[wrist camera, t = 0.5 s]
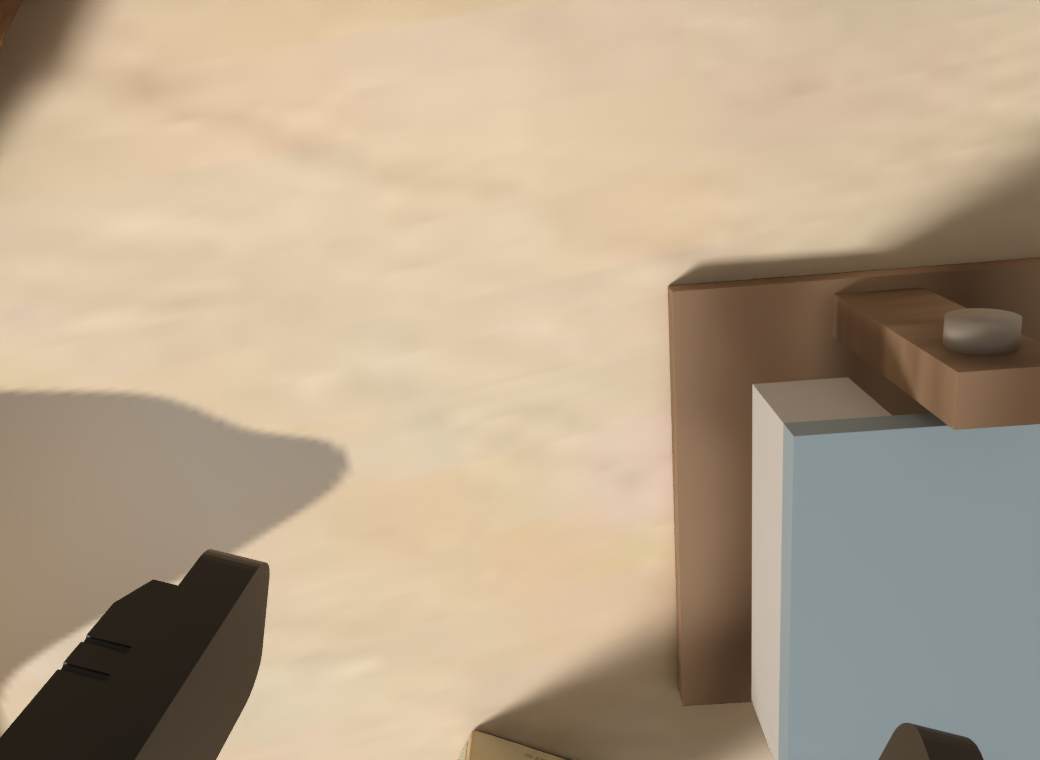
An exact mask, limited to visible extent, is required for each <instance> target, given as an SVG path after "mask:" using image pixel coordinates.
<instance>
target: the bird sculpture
mask: <svg viewBox="0 0 1040 760" xmlns="http://www.w3.org/2000/svg"><path fill="white" fill-rule="evenodd" d="M22 1H23V0H0V48H1V45H2V42H3V39H4V36H5V33H6V31H7V28H8V26H9V24H10V22H11V21H12V19H13V17H14V16H15V14H16V12H17V10H18V8H19V6H20V4H21V2H22Z"/></svg>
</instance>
